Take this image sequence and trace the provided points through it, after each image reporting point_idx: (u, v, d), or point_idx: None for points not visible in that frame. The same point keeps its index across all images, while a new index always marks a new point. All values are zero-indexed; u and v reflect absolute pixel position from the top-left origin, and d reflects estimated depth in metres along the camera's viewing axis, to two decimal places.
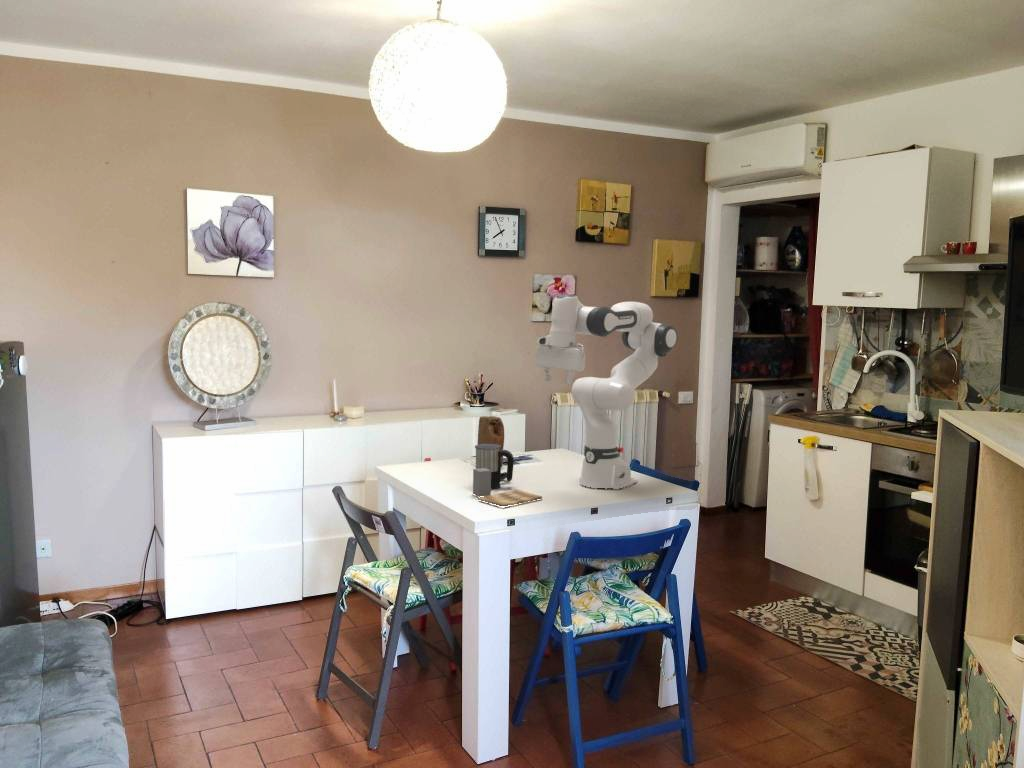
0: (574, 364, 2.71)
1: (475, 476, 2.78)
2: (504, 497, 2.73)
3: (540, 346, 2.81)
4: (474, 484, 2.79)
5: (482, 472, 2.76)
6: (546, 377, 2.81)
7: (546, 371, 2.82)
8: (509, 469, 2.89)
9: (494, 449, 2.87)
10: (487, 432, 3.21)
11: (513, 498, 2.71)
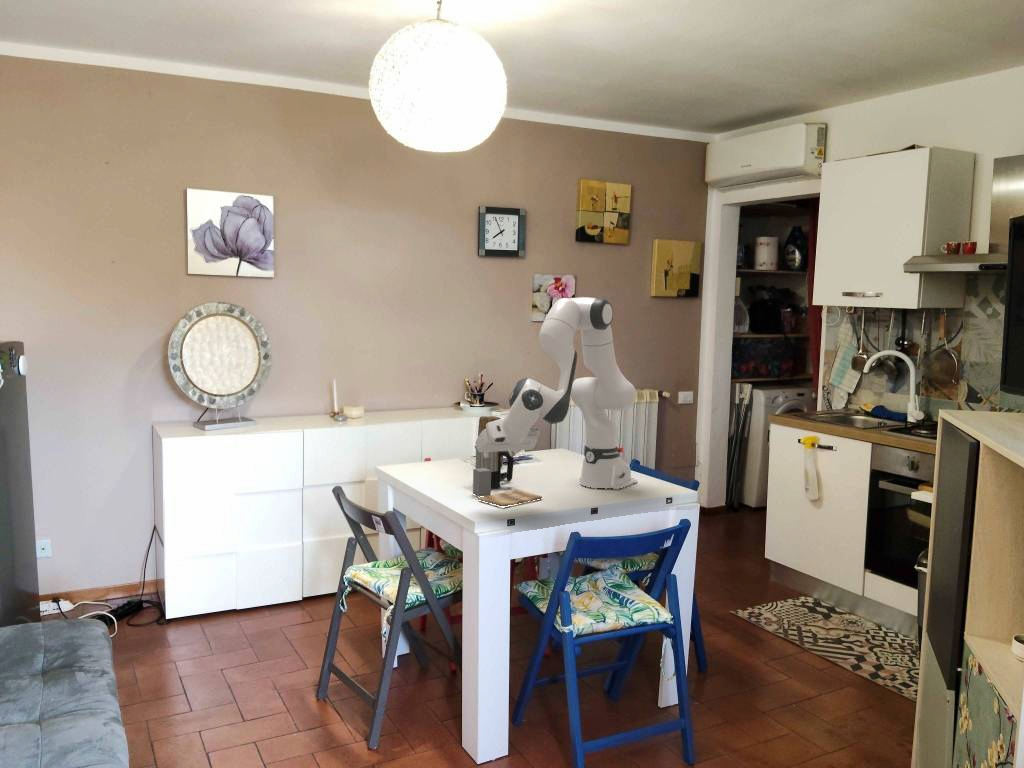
0: (530, 446, 2.65)
1: (475, 476, 2.78)
2: (504, 497, 2.73)
3: (493, 442, 2.54)
4: (474, 484, 2.79)
5: (482, 472, 2.76)
6: (488, 456, 2.63)
7: None
8: (509, 469, 2.89)
9: None
10: None
11: (513, 498, 2.71)
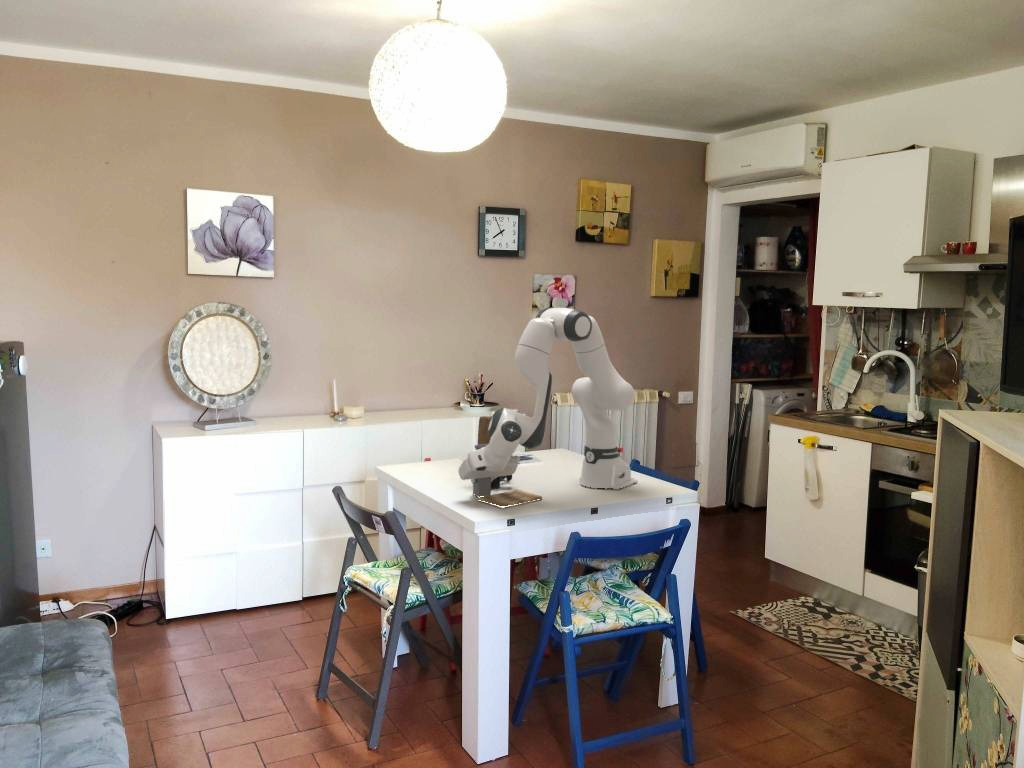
0: (511, 472, 2.78)
1: None
2: (504, 497, 2.73)
3: (475, 470, 2.66)
4: (474, 484, 2.79)
5: None
6: (475, 482, 2.77)
7: None
8: None
9: None
10: (487, 432, 3.21)
11: (513, 498, 2.71)
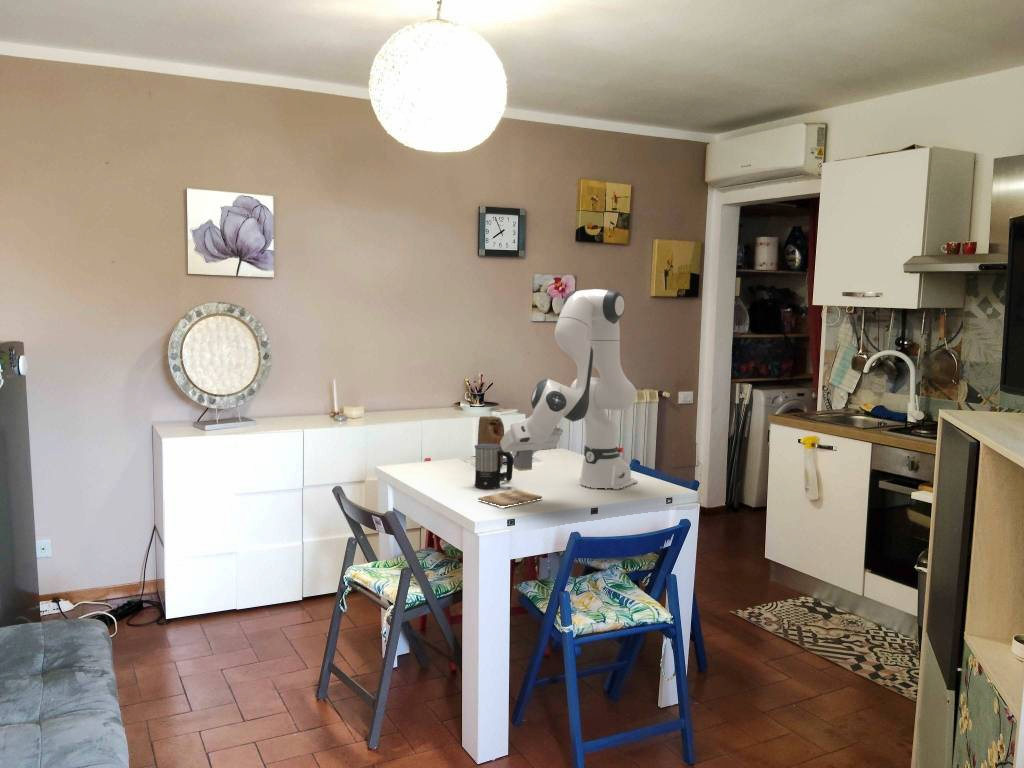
0: (552, 445, 2.74)
1: None
2: (504, 497, 2.73)
3: (518, 442, 2.62)
4: (515, 457, 2.75)
5: None
6: (516, 455, 2.73)
7: None
8: (508, 469, 2.90)
9: (493, 448, 2.88)
10: (487, 432, 3.21)
11: (513, 498, 2.71)
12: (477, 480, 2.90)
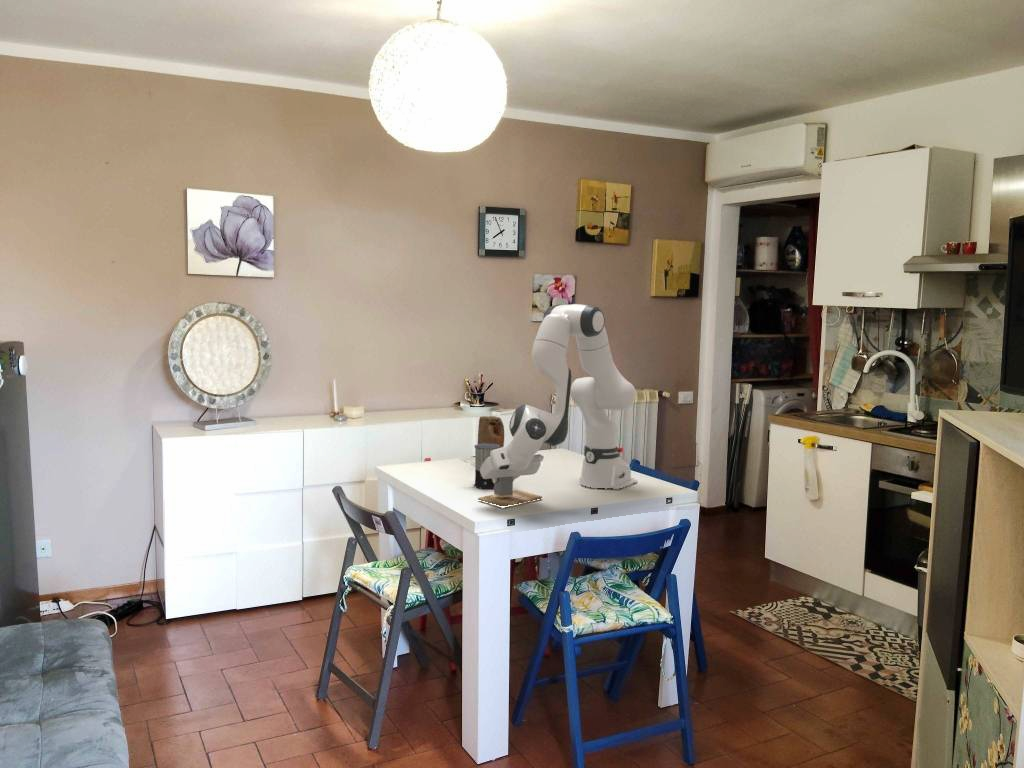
0: (533, 471, 2.70)
1: None
2: (504, 497, 2.73)
3: None
4: (495, 483, 2.72)
5: None
6: (497, 481, 2.70)
7: None
8: None
9: (493, 448, 2.88)
10: (487, 432, 3.21)
11: (513, 498, 2.71)
12: (476, 480, 2.90)
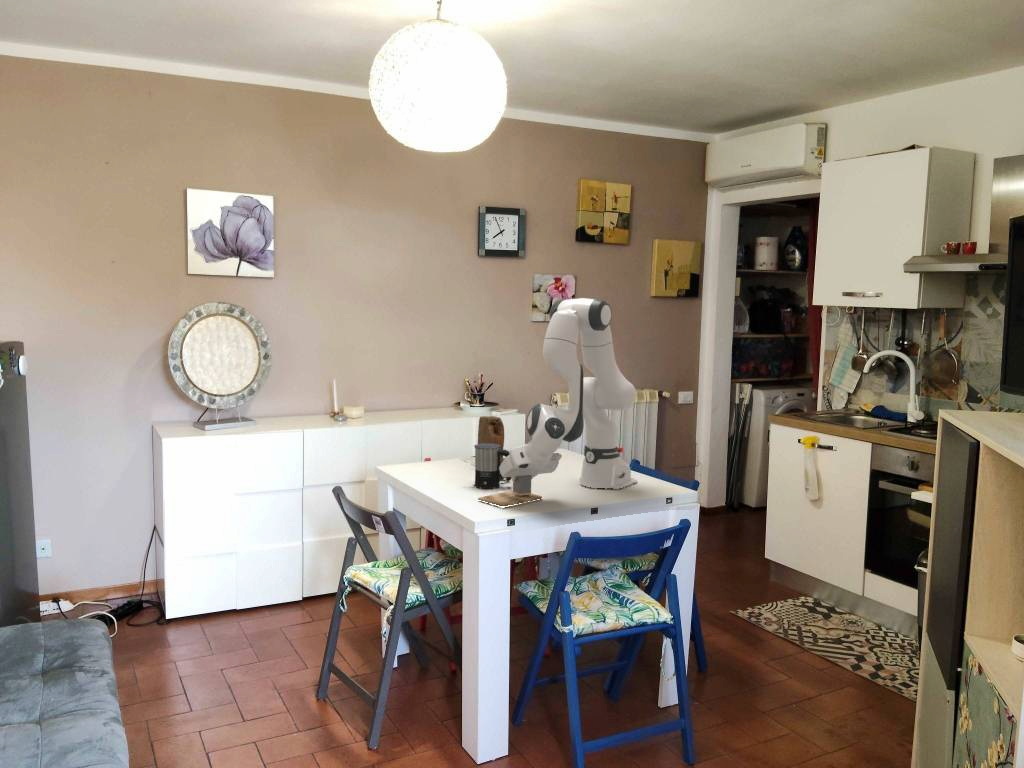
0: (551, 470, 2.75)
1: None
2: (504, 497, 2.73)
3: (517, 468, 2.63)
4: (514, 482, 2.76)
5: None
6: (516, 479, 2.74)
7: None
8: None
9: (493, 448, 2.88)
10: (487, 432, 3.21)
11: (513, 498, 2.71)
12: (476, 480, 2.90)
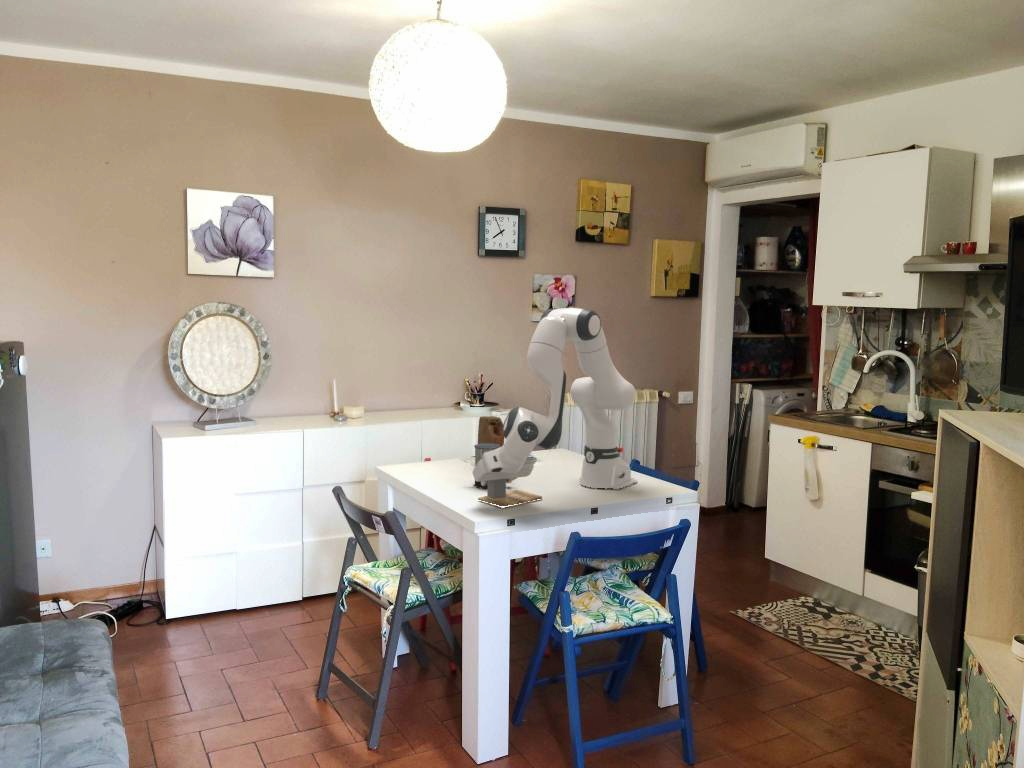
0: (526, 473, 2.69)
1: None
2: None
3: (490, 472, 2.58)
4: (489, 486, 2.70)
5: None
6: (485, 484, 2.68)
7: None
8: None
9: (493, 448, 2.88)
10: (487, 432, 3.21)
11: (513, 498, 2.71)
12: None
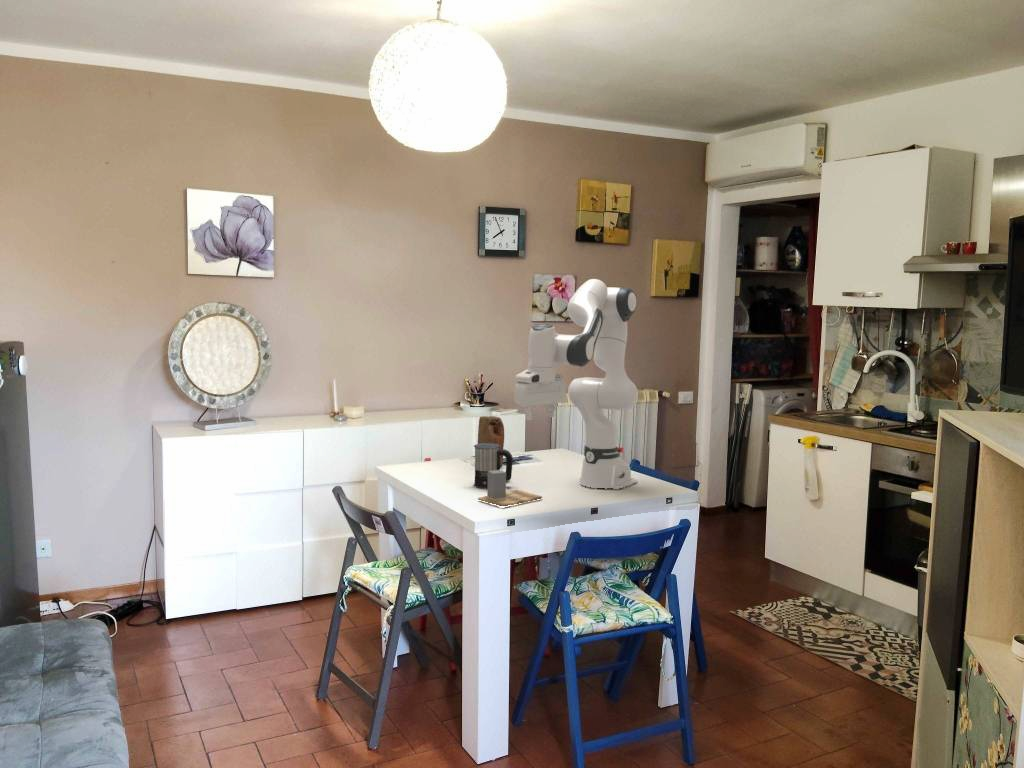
0: (562, 396, 2.66)
1: (490, 478, 2.69)
2: None
3: (530, 384, 2.54)
4: (489, 486, 2.70)
5: (497, 474, 2.67)
6: (532, 416, 2.58)
7: None
8: (507, 468, 2.90)
9: (492, 448, 2.88)
10: (487, 432, 3.21)
11: (513, 498, 2.71)
12: (476, 480, 2.91)
